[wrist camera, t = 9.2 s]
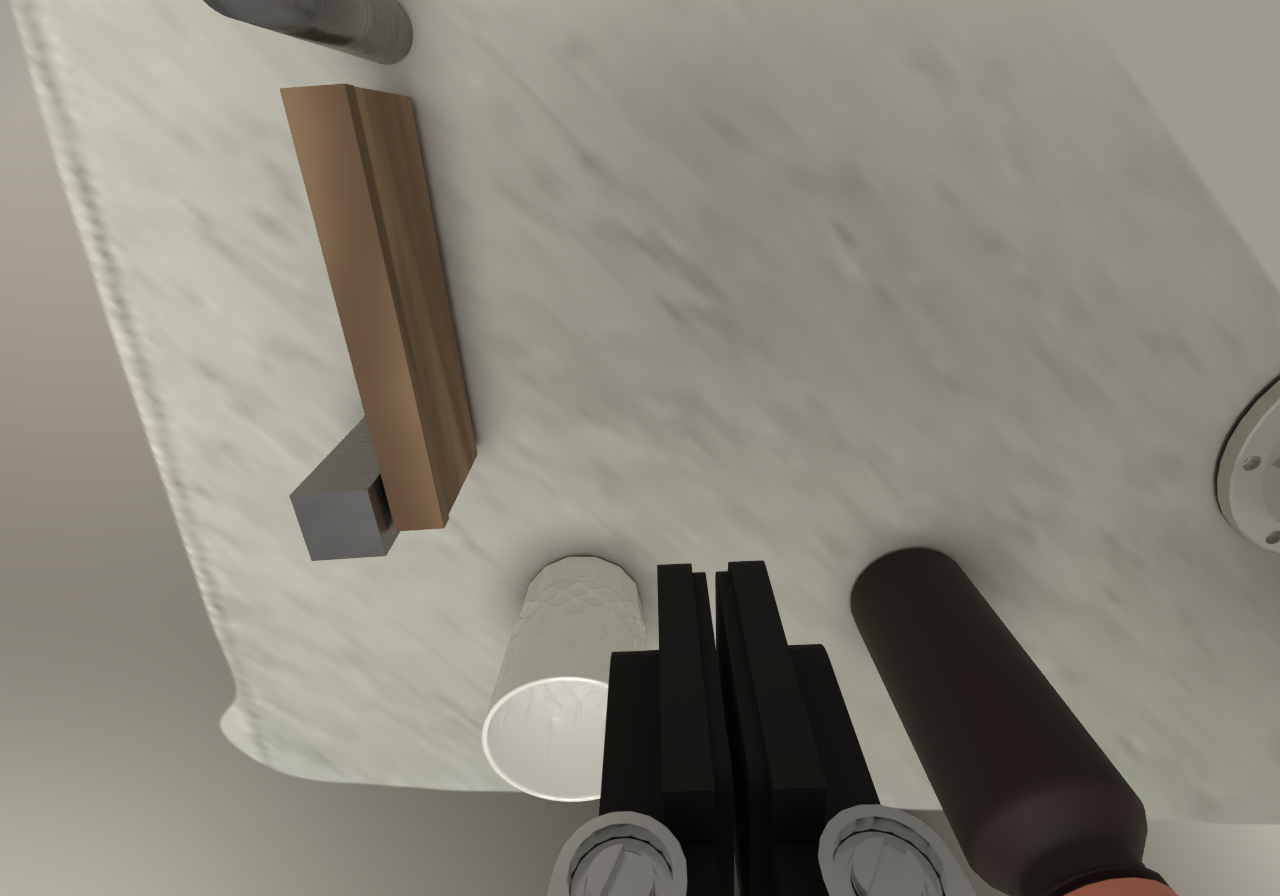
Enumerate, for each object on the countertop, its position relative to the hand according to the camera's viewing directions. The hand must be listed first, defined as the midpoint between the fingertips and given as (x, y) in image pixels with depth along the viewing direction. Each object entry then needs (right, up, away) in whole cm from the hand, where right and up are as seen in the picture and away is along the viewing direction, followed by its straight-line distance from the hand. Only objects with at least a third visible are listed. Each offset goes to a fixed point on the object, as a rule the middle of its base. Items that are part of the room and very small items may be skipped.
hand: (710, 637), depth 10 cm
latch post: (-13, +4, +23) cm, 27 cm away
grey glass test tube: (-11, +20, +16) cm, 28 cm away
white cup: (-4, -6, +28) cm, 29 cm away
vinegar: (+15, -6, +28) cm, 32 cm away
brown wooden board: (-11, +10, +19) cm, 24 cm away
